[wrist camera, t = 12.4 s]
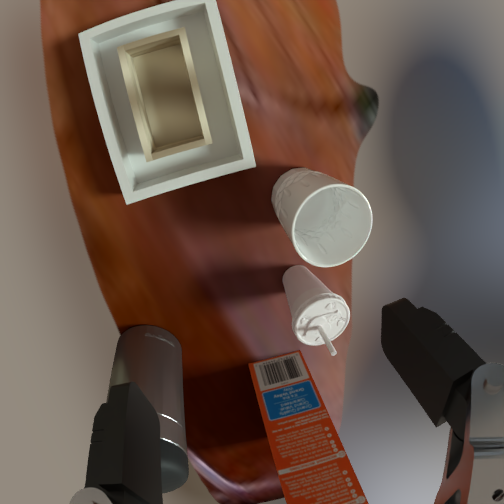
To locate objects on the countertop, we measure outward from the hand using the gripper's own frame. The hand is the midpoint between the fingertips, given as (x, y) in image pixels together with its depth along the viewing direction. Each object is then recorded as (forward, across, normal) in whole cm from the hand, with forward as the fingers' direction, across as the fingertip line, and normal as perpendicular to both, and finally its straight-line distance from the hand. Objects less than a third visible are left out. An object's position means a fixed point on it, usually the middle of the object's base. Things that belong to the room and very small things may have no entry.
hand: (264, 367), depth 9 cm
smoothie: (+28, -7, +15) cm, 33 cm away
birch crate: (+27, +2, -10) cm, 28 cm away
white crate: (+28, +2, -10) cm, 29 cm away
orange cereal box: (+28, -1, +40) cm, 49 cm away
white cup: (+28, -10, +5) cm, 30 cm away
